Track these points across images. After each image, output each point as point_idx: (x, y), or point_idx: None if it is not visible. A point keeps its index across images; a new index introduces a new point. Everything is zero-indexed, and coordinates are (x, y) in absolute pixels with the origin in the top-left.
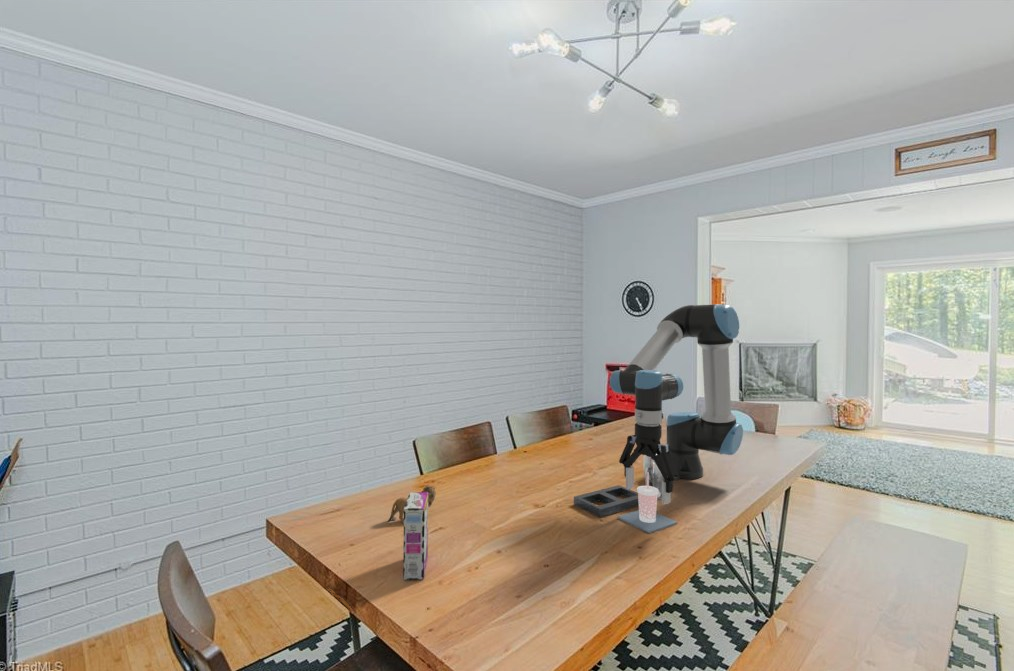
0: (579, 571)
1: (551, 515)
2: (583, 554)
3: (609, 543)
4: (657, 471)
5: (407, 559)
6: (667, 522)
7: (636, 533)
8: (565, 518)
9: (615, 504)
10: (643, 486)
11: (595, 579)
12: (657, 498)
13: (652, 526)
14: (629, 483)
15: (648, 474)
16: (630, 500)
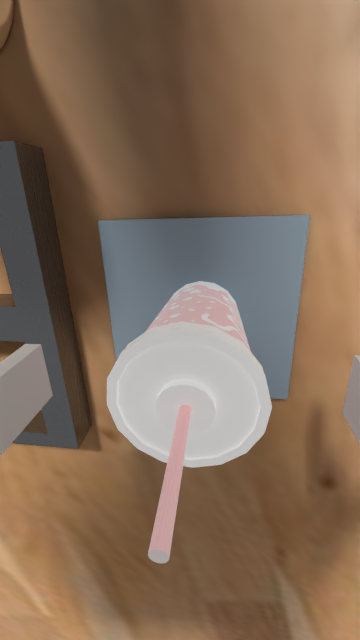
0: (304, 628)
1: (22, 507)
2: (253, 586)
3: (250, 519)
4: None
5: None
6: (279, 264)
7: None
8: (54, 496)
9: (58, 372)
10: (119, 379)
11: (352, 631)
12: (6, 14)
13: (264, 353)
14: (26, 404)
15: (172, 528)
16: (40, 279)
